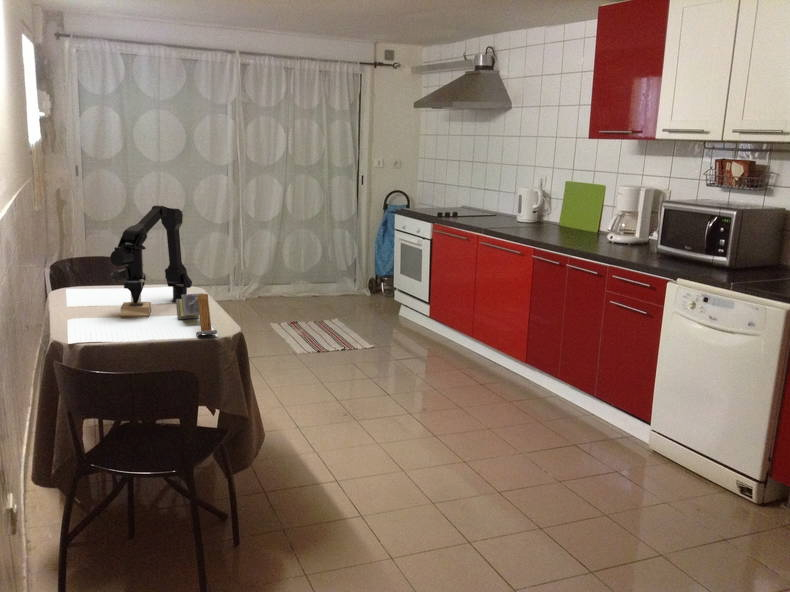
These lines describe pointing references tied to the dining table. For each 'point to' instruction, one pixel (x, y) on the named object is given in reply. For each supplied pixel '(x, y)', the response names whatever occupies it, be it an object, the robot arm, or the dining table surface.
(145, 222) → the robot arm
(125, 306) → the bore block
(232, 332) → the dining table surface
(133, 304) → the pin
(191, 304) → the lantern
